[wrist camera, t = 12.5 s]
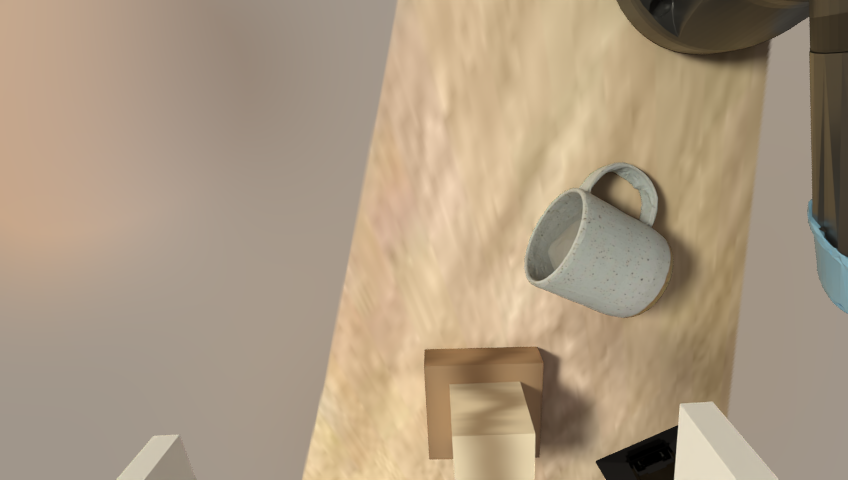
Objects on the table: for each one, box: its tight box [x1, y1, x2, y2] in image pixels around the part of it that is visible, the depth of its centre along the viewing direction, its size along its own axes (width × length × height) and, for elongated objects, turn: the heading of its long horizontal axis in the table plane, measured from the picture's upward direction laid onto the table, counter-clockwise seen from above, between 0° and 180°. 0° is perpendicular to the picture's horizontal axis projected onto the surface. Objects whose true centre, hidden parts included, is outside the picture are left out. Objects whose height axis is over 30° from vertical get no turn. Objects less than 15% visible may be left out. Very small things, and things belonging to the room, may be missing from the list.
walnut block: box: [424, 347, 544, 459], centre depth 40 cm, size 10×10×3 cm
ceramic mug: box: [525, 162, 673, 318], centre depth 31 cm, size 11×8×8 cm
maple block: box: [449, 382, 535, 480], centre depth 35 cm, size 6×6×6 cm
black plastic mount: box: [596, 425, 678, 480], centre depth 41 cm, size 12×7×5 cm, turn 122°
